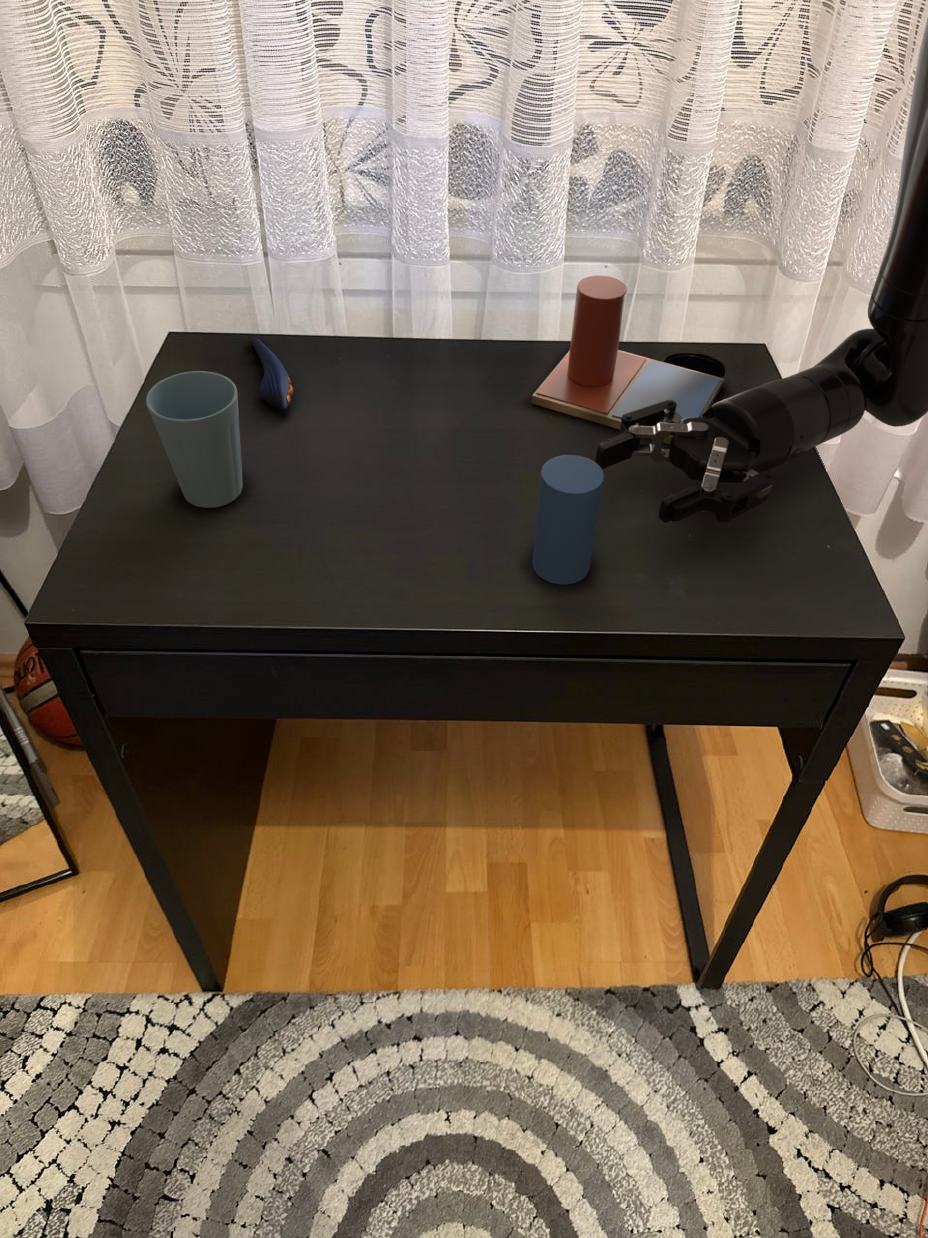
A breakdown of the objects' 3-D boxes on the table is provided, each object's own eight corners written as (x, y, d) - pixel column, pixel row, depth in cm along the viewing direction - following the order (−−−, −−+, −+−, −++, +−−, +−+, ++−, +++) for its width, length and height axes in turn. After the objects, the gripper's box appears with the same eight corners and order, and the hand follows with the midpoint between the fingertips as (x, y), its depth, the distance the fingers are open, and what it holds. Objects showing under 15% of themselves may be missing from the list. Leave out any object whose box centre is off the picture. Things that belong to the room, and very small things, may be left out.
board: (722, 386, 101) (724, 377, 101) (685, 449, 93) (687, 440, 93) (577, 346, 106) (578, 337, 106) (531, 403, 98) (532, 394, 98)
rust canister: (620, 369, 101) (634, 282, 94) (603, 391, 98) (616, 303, 91) (577, 357, 103) (588, 270, 95) (560, 379, 100) (569, 291, 92)
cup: (237, 455, 91) (218, 361, 84) (267, 499, 87) (250, 404, 79) (161, 479, 89) (134, 384, 81) (188, 526, 84) (163, 430, 76)
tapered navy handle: (244, 355, 106) (236, 336, 104) (273, 344, 106) (265, 325, 104) (272, 424, 95) (264, 404, 93) (304, 411, 95) (296, 391, 94)
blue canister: (597, 556, 82) (613, 465, 75) (576, 592, 79) (590, 500, 72) (546, 539, 84) (556, 447, 76) (523, 572, 81) (531, 481, 73)
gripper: (720, 355, 87) (583, 406, 81) (837, 432, 79) (694, 495, 73) (703, 422, 93) (574, 475, 86) (811, 500, 85) (677, 565, 78)
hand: (629, 484), depth 80 cm, fingers open, 8 cm apart
